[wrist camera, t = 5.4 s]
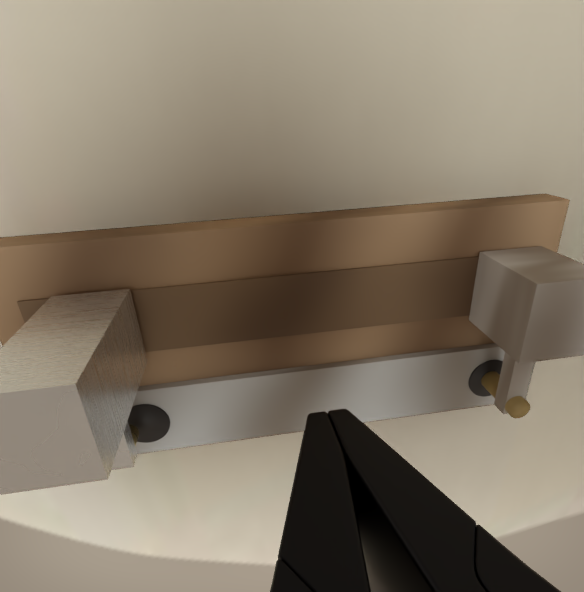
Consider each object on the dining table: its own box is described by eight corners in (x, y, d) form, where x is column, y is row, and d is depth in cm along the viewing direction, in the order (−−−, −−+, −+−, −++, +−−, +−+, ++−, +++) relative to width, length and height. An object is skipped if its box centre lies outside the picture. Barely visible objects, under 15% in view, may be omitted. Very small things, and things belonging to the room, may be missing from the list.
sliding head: (129, 288, 13) (75, 384, 8) (164, 430, 15) (136, 562, 11) (51, 296, 13) (-49, 399, 8) (99, 439, 15) (44, 577, 11)
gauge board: (545, 193, 15) (652, 221, 11) (503, 384, 19) (573, 454, 15) (-16, 239, 13) (-119, 292, 9) (64, 443, 17) (15, 541, 13)
